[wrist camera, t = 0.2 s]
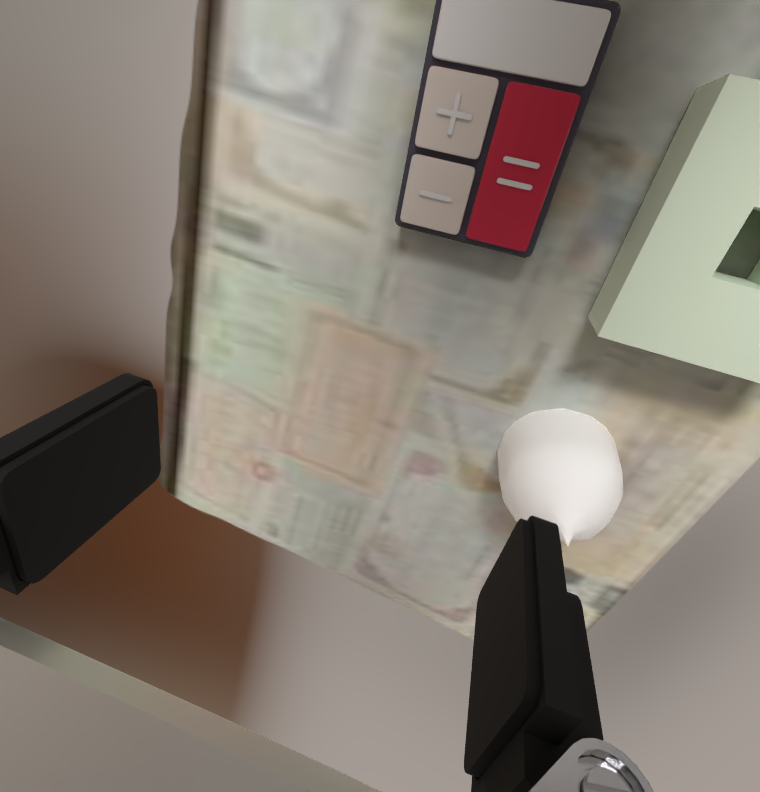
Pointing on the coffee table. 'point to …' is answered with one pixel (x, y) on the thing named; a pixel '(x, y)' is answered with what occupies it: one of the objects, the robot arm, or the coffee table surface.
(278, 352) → the coffee table surface
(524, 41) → the calculator
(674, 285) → the peg block
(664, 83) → the coffee table surface
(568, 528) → the teardrop
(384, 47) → the coffee table surface
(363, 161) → the coffee table surface
